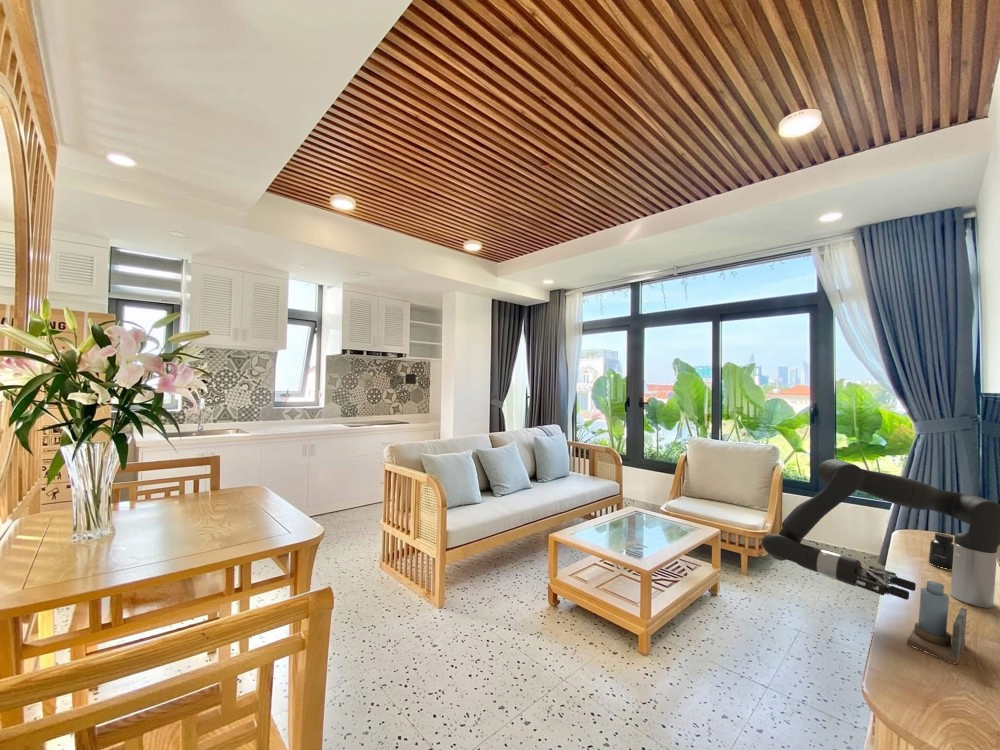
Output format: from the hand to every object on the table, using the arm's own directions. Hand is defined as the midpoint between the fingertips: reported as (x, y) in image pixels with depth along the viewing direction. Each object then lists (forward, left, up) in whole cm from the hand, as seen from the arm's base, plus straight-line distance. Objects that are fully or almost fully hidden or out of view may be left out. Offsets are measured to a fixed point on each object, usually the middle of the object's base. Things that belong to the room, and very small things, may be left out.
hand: (912, 591), depth 116 cm
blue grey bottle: (0, +4, -8) cm, 9 cm away
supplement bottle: (-72, -2, -12) cm, 73 cm away
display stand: (0, +5, -12) cm, 13 cm away
